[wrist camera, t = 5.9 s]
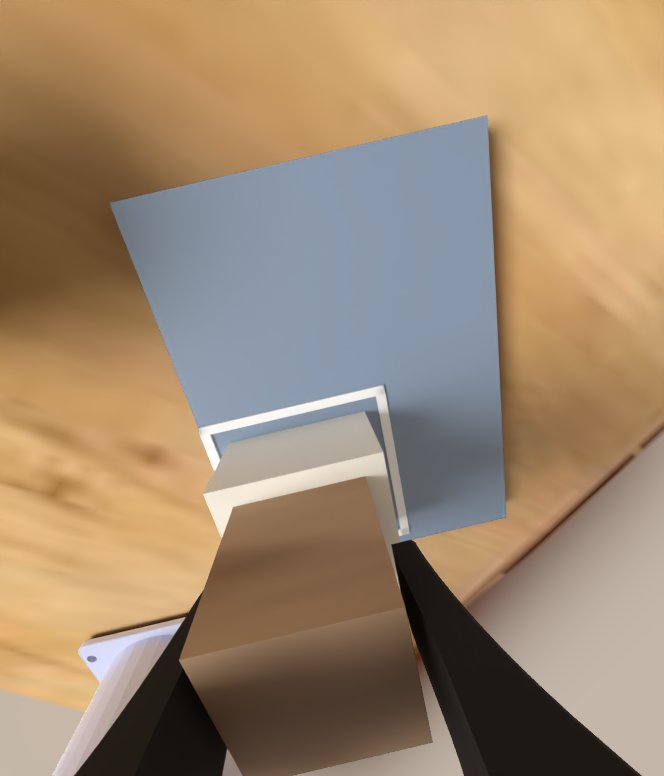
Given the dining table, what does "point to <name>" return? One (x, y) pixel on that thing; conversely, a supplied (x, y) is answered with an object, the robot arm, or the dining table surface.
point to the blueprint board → (342, 309)
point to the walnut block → (306, 636)
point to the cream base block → (303, 468)
